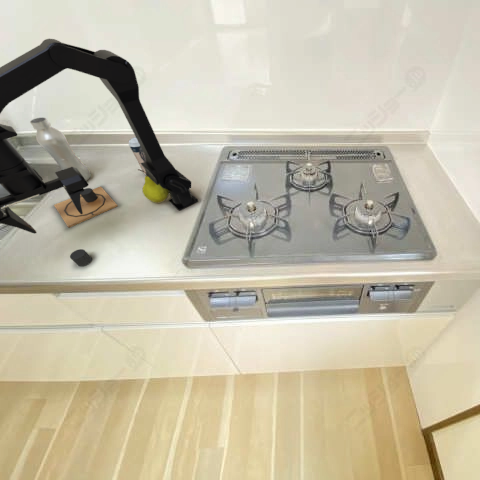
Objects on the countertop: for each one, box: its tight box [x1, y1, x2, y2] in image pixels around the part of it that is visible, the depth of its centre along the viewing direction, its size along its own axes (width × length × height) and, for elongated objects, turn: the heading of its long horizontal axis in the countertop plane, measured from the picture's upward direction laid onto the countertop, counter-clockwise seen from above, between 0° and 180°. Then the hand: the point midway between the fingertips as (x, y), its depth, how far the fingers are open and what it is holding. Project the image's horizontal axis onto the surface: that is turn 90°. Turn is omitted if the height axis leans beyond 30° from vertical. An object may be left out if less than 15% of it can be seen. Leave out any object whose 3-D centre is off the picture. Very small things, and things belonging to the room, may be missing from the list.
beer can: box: [128, 136, 147, 176], centre depth 92 cm, size 5×5×12 cm
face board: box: [53, 185, 118, 229], centre depth 83 cm, size 13×13×1 cm
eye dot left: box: [69, 248, 93, 268], centre depth 69 cm, size 3×3×3 cm
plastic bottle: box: [29, 117, 92, 181], centre depth 85 cm, size 6×7×20 cm
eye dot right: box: [80, 187, 98, 202], centre depth 84 cm, size 3×3×3 cm
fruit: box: [137, 168, 170, 204], centre depth 82 cm, size 7×7×12 cm
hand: (59, 222), depth 65 cm, fingers open, 9 cm apart
